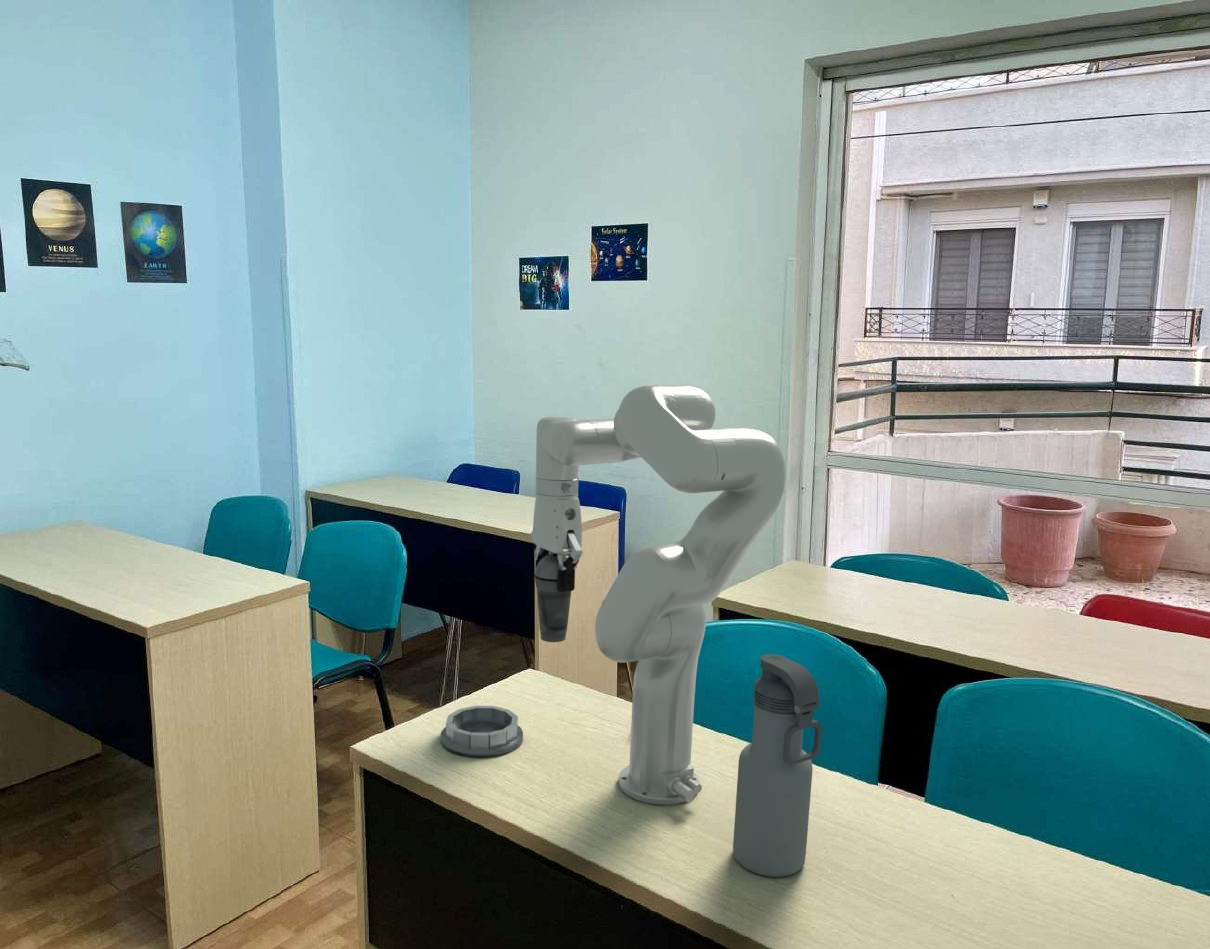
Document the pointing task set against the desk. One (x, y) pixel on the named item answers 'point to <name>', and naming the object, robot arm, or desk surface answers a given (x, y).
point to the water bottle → (777, 771)
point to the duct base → (481, 732)
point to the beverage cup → (551, 600)
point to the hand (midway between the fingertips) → (554, 584)
